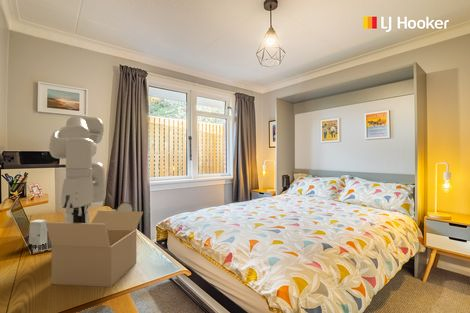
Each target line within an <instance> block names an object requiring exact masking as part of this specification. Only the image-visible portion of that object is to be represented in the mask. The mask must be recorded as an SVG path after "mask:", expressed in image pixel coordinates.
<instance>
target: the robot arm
mask: <svg viewBox="0 0 470 313" xmlns="http://www.w3.org/2000/svg"><path fill="white" fill-rule="evenodd" d="M65 123H66V124H65V126H63V127H61V128H60V129H58V130H56V131H54V132H52V134H51V137H50V139H49V146H48V151H49V154H50V155H51V157H52V158H54V159H59V160H60V159H63V160H64V159H65V178H64V179H63V183H62V189H61V202H60V204H61V208H62V209H64V223H90V211H89V207H91V206H92V204H93V203H100V202H104V200H105V199H106V195H107V188H106V187H107V186H106V173H105V171H106V170H105V167H104V164H103V163H101V162H99V161H93V158H94V156H95V155H96V154H97V144H100V143H101V141H102V140H103V135H104V131H105V129H104V128H105V127H104V123H103V121H102V119H100V118H99V117H94V116H93V117H92V116H81V115H74V116H73V115H72V116H71V117H69V118H67V119H66V122H65Z"/></svg>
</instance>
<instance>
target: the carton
mask: <svg viewBox="0 0 470 313" xmlns="http://www.w3.org/2000/svg"><path fill="white" fill-rule="evenodd" d="M107 233H108V238H109V243H110V247H88V246H58V245H51V285H61V286H62V285H65V286H85V287H86V286H87V287H89V286H90V287H109V288H111V287H113V286H114V285H115V284H116V283H117V282H118V281H119V280H120V279H122V277H123V276H124V275H125V274H126V273H128V271H129V270H130V269H131V268H132V267H133V266H134V265H136V264H137V229H136V230H125V229H107Z"/></svg>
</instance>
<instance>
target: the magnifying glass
mask: <svg viewBox="0 0 470 313" xmlns="http://www.w3.org/2000/svg"><path fill="white" fill-rule="evenodd" d="M115 210H116V211H134V207H133V205H132V204H131V203H130V202H128V201H127V202H126V201H125V202H124V201H123V202H121V203H120V204H118V206H117V207H116V209H115Z"/></svg>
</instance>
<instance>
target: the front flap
mask: <svg viewBox="0 0 470 313" xmlns="http://www.w3.org/2000/svg"><path fill="white" fill-rule="evenodd" d="M46 226H47V235H48V237H49V240H50V244H51V246H52V245H58V246H88V247H110V243H109V238H108V233H107V227H106V224H100V223H91V222H89V223H65V221H63V222H61V221H60V222H58V221H57V222H56V221H48V222H46Z"/></svg>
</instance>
